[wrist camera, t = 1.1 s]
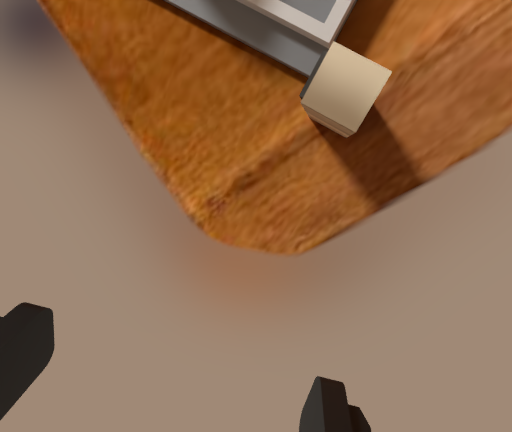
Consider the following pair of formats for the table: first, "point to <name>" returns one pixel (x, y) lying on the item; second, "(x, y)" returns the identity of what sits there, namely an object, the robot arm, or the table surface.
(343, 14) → the rail board
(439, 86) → the table surface
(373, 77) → the maple finger
